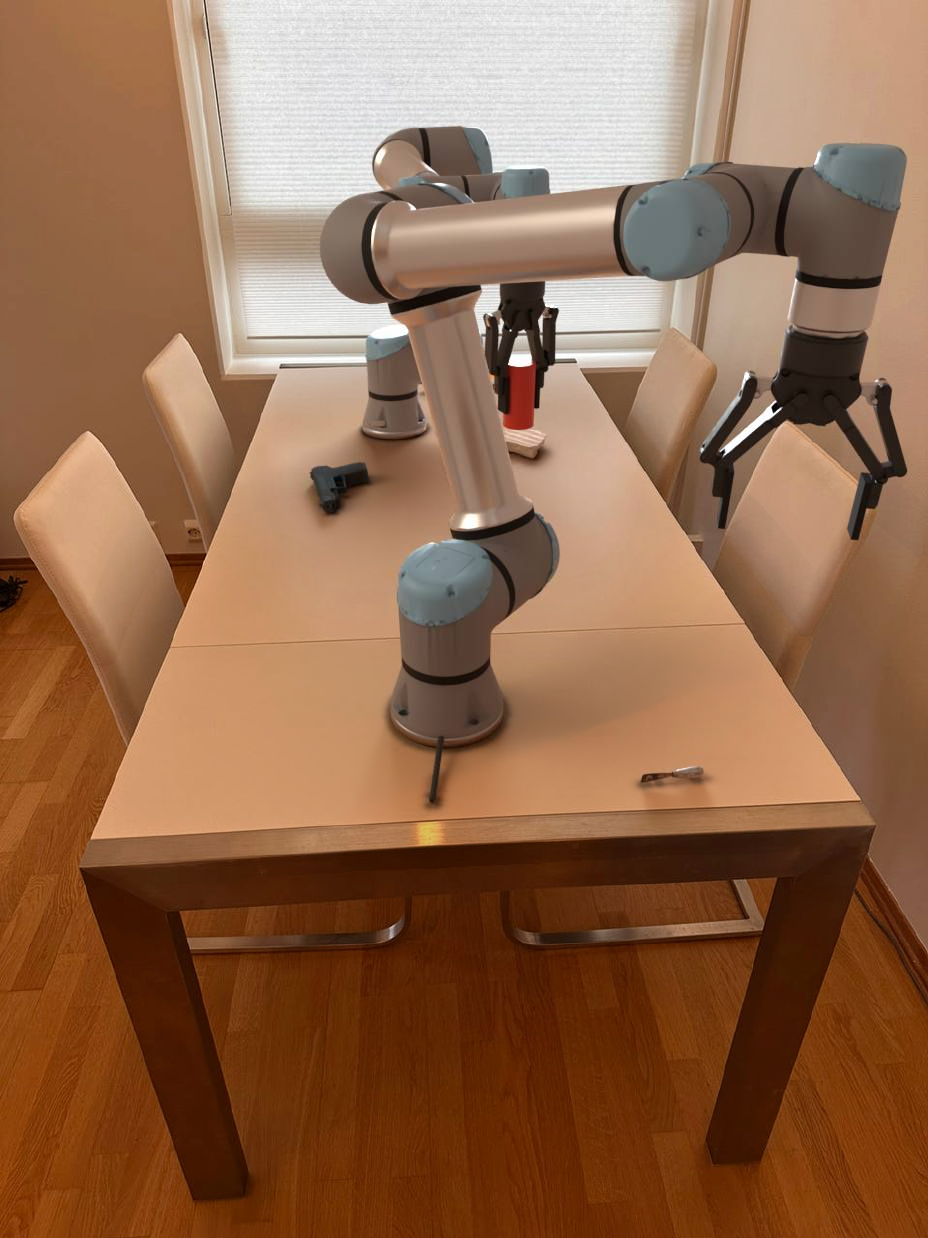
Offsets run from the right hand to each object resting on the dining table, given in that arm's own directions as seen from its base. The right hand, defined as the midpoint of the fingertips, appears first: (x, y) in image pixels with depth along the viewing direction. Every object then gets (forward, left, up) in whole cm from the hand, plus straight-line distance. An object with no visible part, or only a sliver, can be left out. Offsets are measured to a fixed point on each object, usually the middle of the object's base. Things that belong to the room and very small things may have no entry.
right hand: (785, 529), depth 96 cm
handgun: (+67, +75, -32) cm, 106 cm away
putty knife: (-6, +8, -32) cm, 34 cm away
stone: (+99, +44, -32) cm, 113 cm away
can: (+61, +39, -12) cm, 73 cm away
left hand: (+61, +39, -10) cm, 73 cm away
